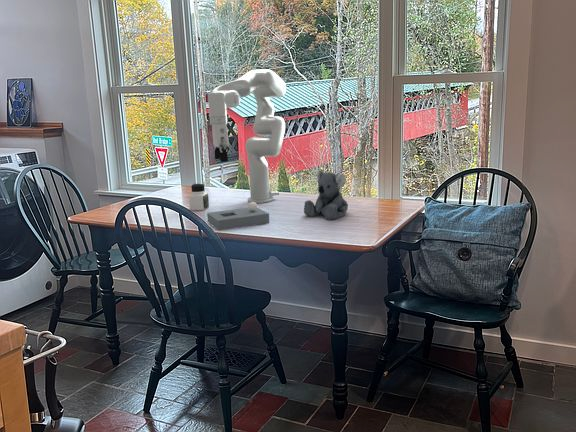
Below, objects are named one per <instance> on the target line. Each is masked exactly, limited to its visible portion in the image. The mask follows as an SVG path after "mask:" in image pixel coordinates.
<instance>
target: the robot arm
mask: <svg viewBox="0 0 576 432" xmlns="http://www.w3.org/2000/svg"><path fill="white" fill-rule="evenodd" d="M286 91H287V86H286V83H285V81H284V80H283V79H282V78H281V77H280V76H279V75H278V74H277V73H275V72H274V71H273V70H271V69H267V68H266V69H252V70H249V71H247V72H246V73H244V74H243V75H242V76H240V77H239V78H237V79H235V80H232V81H229V82H226V83H224V84H221V85H219V86H217V87H215V88H213V90H211V91H210V92H208V95H207V100H208V114H209V125H210V126H211V127H212V128H211V130H212V143H213V144H212V145H213V146H214V147H213V149H214V160H220V162H221V163H224V162H228V161H229V160H228V159H229V157H228V147H229V146H230V142H229V134H228V127H227V125H228V112H227V109H232V108H236V107H238V106H239V104H241V98H244V97H245V98H246V97H248V96H250V94H252V93H253V96H254V99H255V101H256V105H257V106H256V107H257V109H256V113H255V116H254V117H255V118H254V122H253V128H252V129H253V130H252V131H253V133H254V135H257V136H251V137H249V138H248V139H247V140H246V142H245V153H246V155H247V160H248V173H249V191H250V197H248V198H247V202H248V203H250V202H255V203H256V204H263V203H265V204H266V203H269V202H273V200H274V196H279V195H280V192H279V191H272V190H271V189H270V175H269V174H270V173H269V171H270V170H269V164H268V161H267V160H266V157H267V158H268V157H269V158H270V157H271V158H272V157H273V158H274V157H278V156H279V155H280V153H281V150H282V147H283V142H284V138H285V134H286V123H285V120H284V118H283V117H282V116H278V115H277V116H276V115H275V107H274V106H275V105H273V103H272V102H271V100H270V98H282V97H283V96H285V94H286V93H287V92H286ZM274 115H275V116H274Z"/></svg>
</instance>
